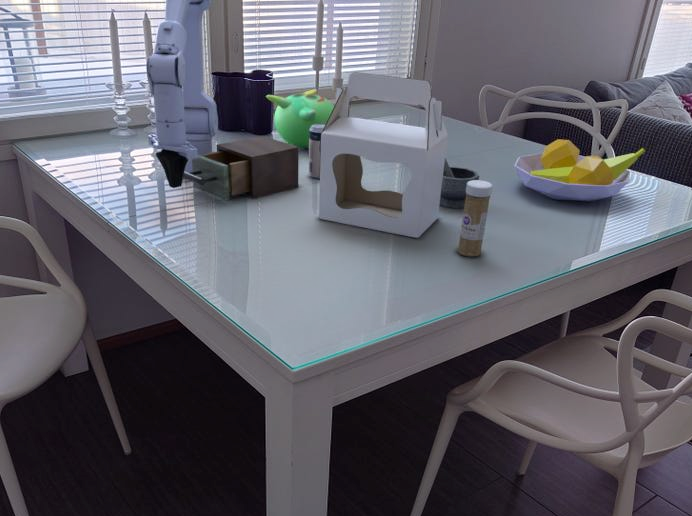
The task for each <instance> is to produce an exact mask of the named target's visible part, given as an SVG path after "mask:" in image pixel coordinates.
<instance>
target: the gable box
mask: <svg viewBox="0 0 692 516" xmlns="http://www.w3.org/2000/svg"><path fill="white" fill-rule="evenodd" d="M432 91H433V86H432V85H431V82H430V81H429V80H426V79H418V78H417V79H416V78H410V77H409V78H408V77H400V76H392V75H383V74H374V73H366V72H359V71H353V72H351V73H350V74H349V75H348V80H347V85H346V86H344V88H343V87H336V91H335V99H334V100H335V101H334V105H333V106H334V108H333V110H332V112H331V114H330V116H329V118H328V120H327V123H326V125H325V127H324V129H323V131H322V133H321V161H320V179H319V194H318V195H319V197H318V198H319V199H318V219H319V220H324V221H328V222H332V223H333V222H334V223H338V224H343V225H349V226H354V227H359V228H363V229H368V230H373V231H379V232H383V233H389V234H394V235H399V236H403V237H409V238H414V239H419V238H420V237H421V236H422V235H423V233H425V232H426V231H427V230H428V229H429V228H430V227H431V226H432V224H433V223H434V222H436V221H437V219H438V218H439V210H440V195H441V187H442V179H443V171H444V163H445V158H446V153H447V146H448V137H449V134H448V131H447V129H446V126H445V123H444V120H443V100H440V99H439V100H436V97H433V95H432ZM353 98H354V99H357V100H358V99H365V100H373V101H380V102H387V103H388V102H389V103H396V104H403V105H409V106H410V105H411V106H417V107H419V108H424V110H425V113H426V116H425V125H424V127H421V126H416V125H415V126H414V125H407V124H401V123H394V122H387V121H380V120H373V119H366V118H359V117H352V116H351V117H350V104H351V100H353ZM337 119H338V120H337ZM361 157H362V158H363V159H367V160H370V161H372V162H376V163H393V164H400V165H403V166H405V167H406V168H408V169H409V171H410V173H411V175H410V180H409V182H408V183H407V185H406V187H405V189H404V192H403V194H402V193H400V192H398V191H394V190H393V191H392V190H367V189H365V188H364V187H363V186H362V180H363V179H362V178H363V173H364V168H363V164H362V163H363V162H362V159H361Z"/></svg>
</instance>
